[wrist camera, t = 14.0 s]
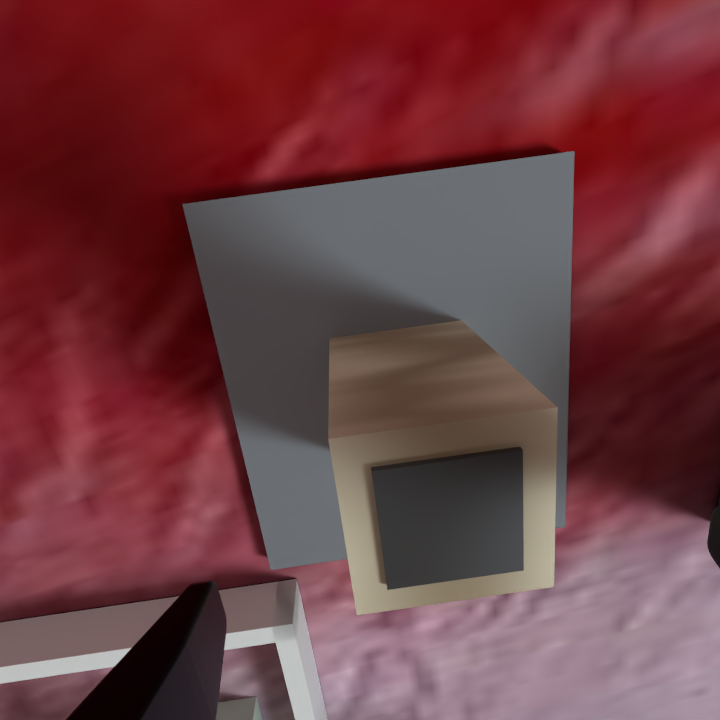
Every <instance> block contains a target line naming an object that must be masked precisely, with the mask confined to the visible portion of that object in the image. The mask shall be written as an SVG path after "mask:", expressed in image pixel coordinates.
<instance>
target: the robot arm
mask: <svg viewBox="0 0 720 720" xmlns="http://www.w3.org/2000/svg"><path fill="white" fill-rule="evenodd" d="M707 544H708V549H709V552H710V554H711V556H712V558H713V559H714V561H715V562H716V564H717V565H718V566H719V568H720V506H718V507H716V508H715V509H714V510H713V511H712V515H711V521H710V528H709V535H708V542H707ZM226 630H227V619H226V613H225V610H224V607H223V603H222V600H221V596H220V593H219V590H218V587H217V584H216V583H215V582H214V581H205V582H198V583H193V584H191V585H189V586H188V587H187V588H186V589H185V590H184V592H183V593H182V594H181V595H180V596H179V597H178V598H177V599H176V600H175V601H174V602H173V603H172V605H171V606H170V607H169V608H168V609H167V610H166V611H165V612H164V613H163V614H162V615H161V617H160V618H159V619H158V620H157V621H156V622H155V623H154V624H153V625H152V626H151V627H150V629H149V630H148V631H147V632H146V633H145V634H144V635H143V636H142V637H141V638H140V639H139V640H138V642H137V643H136V644H135V645H134V646H133V647H132V648H131V649H130V650H129V651H128V652H127V654H126V655H125V656H124V657H123V658H122V659H121V660H120V661H119V662H118V663H117V664H116V666H115V667H114V668H113V669H112V670H111V671H110V672H109V673H108V674H107V675H106V676H105V677H104V679H103V680H102V681H101V682H100V683H99V684H98V685H97V686H96V687H95V688H94V689H93V691H92V692H91V693H90V694H89V695H88V696H87V697H86V698H85V699H84V700H83V701H82V703H81V704H80V705H79V706H78V707H77V708H76V709H75V710H74V711H73V712H72V713H71V714H70V716H69V717H68V718H67V719H66V720H216V715H217V707H218V699H219V690H220V682H221V673H222V664H223V656H224V647H225V639H226Z"/></svg>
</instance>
